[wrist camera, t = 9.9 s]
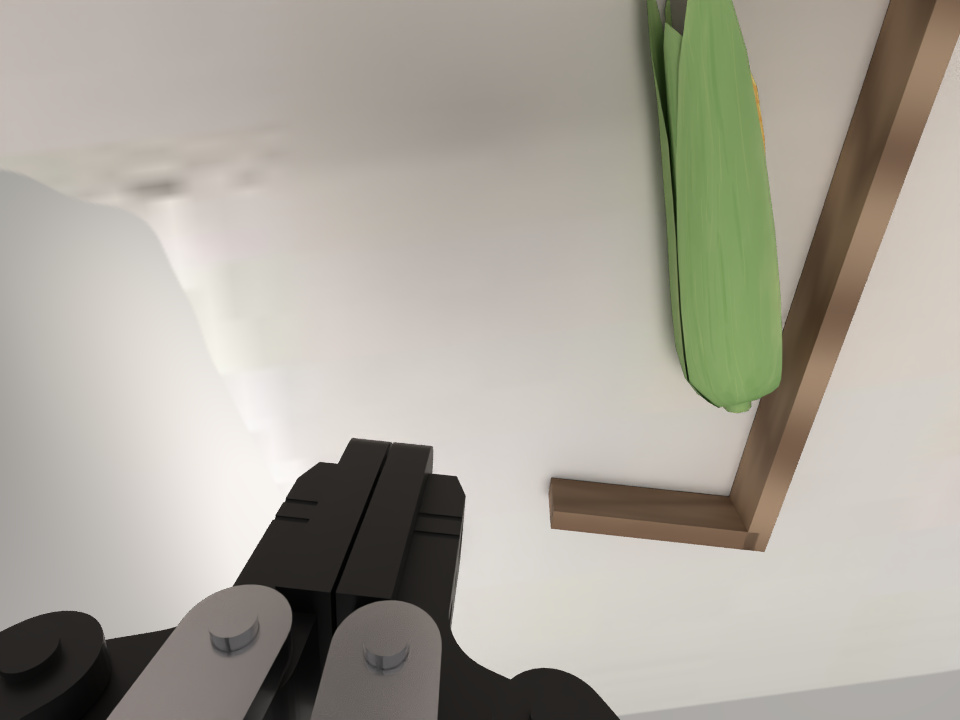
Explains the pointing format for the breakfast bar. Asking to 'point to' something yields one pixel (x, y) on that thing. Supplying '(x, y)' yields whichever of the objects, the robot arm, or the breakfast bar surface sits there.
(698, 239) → the edible corn
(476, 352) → the breakfast bar surface
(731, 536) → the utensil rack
